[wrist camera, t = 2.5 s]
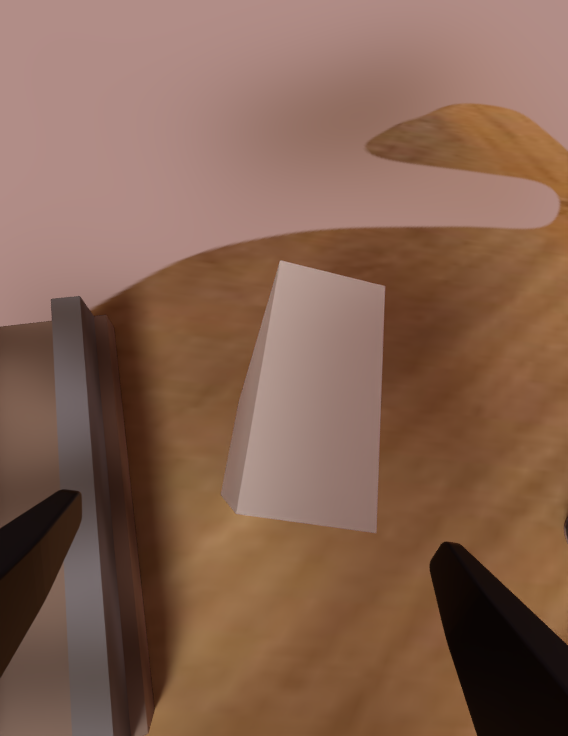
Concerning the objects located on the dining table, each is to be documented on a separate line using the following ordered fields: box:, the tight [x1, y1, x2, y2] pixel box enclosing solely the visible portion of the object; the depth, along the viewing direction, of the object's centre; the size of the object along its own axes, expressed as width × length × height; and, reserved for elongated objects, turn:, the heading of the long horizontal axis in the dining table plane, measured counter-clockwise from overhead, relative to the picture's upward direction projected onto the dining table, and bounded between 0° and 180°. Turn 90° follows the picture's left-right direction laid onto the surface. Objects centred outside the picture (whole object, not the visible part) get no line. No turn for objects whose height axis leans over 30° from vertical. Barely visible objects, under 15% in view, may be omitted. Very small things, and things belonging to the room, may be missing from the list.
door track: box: [0, 296, 155, 736], centre depth 14 cm, size 18×8×4 cm, turn 14°
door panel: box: [221, 260, 385, 533], centre depth 12 cm, size 5×2×13 cm, turn 172°
